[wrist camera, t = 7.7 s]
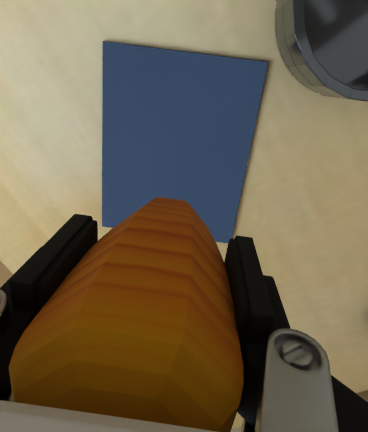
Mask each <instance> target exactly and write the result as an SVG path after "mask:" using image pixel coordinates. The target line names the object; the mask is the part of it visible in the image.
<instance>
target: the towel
mask: <svg viewBox="0 0 368 432" xmlns="http://www.w3.org/2000/svg"><path fill="white" fill-rule="evenodd" d="M267 67H268V62H264V61H256V60H248V59H240V58H232V57H224V56H216V55H208V54H200V53H192V52H185V51H177V50H169V49H161V48H153V47H145V46H137V45H129V44H121V43H113V42H105V41H103V144H102V226H105V227H112V228H114V227H115V226H117V225H118V224H119V223H121V222H122V221H123V220H125V219H126V218H127V217H129V216H130V215H132V214H133V213H134V212H136V211H137V210H139V209H140V208H141V207H143V206H144V205H146V204H147V203H148V202H150V201H151V200H153V199H154V198H159V197H165V198H171V199H178V200H184V201H186V202H188V203H189V204H190V206H191V207H192V208H193V209H194V211H195V212H196V213H197V214H198V216H199V217H200V218H201V220H202V221H203V222H204V223H205V225H206V226H207V227H208V229H209V231H210V233H211V235H212V236H213V238H214V240H215V241H216V242H223V243H229V240H230V239H232V235H233V230H234V226H235V221H236V216H237V211H238V206H239V202H240V197H241V192H242V187H243V182H244V177H245V173H246V168H247V163H248V158H249V153H250V149H251V144H252V139H253V134H254V129H255V124H256V120H257V115H258V110H259V105H260V100H261V95H262V91H263V86H264V81H265V76H266V71H267Z"/></svg>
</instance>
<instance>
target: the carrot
mask: <svg viewBox="0 0 368 432" xmlns="http://www.w3.org/2000/svg"><path fill="white" fill-rule="evenodd" d="M9 374H10V381H11V387H12V394H13V401H14V402H16V403H24V404H31V405H38V406H45V407H52V408H59V409H66V410H73V411H80V412H87V413H94V414H101V415H108V416H115V417H122V418H129V419H135V420H142V421H149V422H156V423H163V424H170V425H176V426H183V427H190V428H196V429H203V430H210V431H217V432H230V431H231V428H232V425H233V422H234V419H235V416H236V413H237V410H238V407H239V404H240V399H241V394H242V389H243V361H242V355H241V349H240V342H239V336H238V333H237V328H236V321H235V313H234V306H233V300H232V295H231V290H230V285H229V281H228V276H227V271H226V266H225V263H224V261H223V259H222V256H221V254H220V251H219V249H218V247H217V244H216V242H215V240H214V238H213V236H212V235H211V233H210V231H209V229H208V227H207V226H206V225H205V223H204V222H203V221H202V220H201V218H200V217H199V216H198V214H197V213H196V212H195V211H194V209H193V208H192V207H191V206H190V204H189V203H188V202H186V201H184V200H178V199H171V198H165V197H159V198H154V199H153V200H151V201H150V202H148V203H147V204H146V205H144V206H143V207H141V208H140V209H139V210H137V211H136V212H134V213H133V214H132V215H130V216H129V217H127V218H126V219H125V220H123V221H122V222H121V223H119V224H118V225H117V226H115V227H114V228H113V229H111V230H110V231H109V232H108V233H107V234H106V235H104V236H103V237H102V238H101V239H100V240H98V241H97V242H96V243H95V244H94V245H93V246H92V247H91V248H90V249H89V251H88V252H87V253H86V254H85V255H84V256H83V258H82V259H81V260H80V261H79V262H78V264H77V265H76V266H75V267H74V268H73V270H72V271H71V272H70V273H69V274H68V275H67V277H66V278H65V279H64V280H63V282H62V283H61V284H60V286H59V287H58V288H57V289H56V291H55V292H54V293H53V295H52V296H51V297H50V299H49V300H48V301H47V302H46V304H45V305H44V306H43V308H42V309H41V310H40V311H39V313H38V314H37V315H36V317H35V318H34V319H33V320H32V322H31V323H30V324H29V326H28V327H27V328H26V330H25V331H24V332H23V334H22V336H21V338H20V339H19V341H18V343H17V345H16V346H15V349H14V352H13V355H12V358H11V361H10V364H9Z"/></svg>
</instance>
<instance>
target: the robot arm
mask: <svg viewBox="0 0 368 432" xmlns="http://www.w3.org/2000/svg"><path fill="white" fill-rule="evenodd" d="M97 241H98V229H97V221H94V220H93V219H92V217H91V216H86V215H79V214H75V215H73V216H72V217H71V218H70V219H69V220H68V221H67V222H66V223H65V224H64V225H63V226H62V227H61V228H60V229H59V230H58V231H57V233H56V234H55V235H54V236H53V237H52V238H51V239H50V240H49V241H48V242H47V243H46V244H45V245H44V246H42V247H41V248H40V249H39V250H38V251H37V252H36V253H35V254H34V255H33V256H32V257H31V258H30V259H29V260H28V261H27V262H26V263H25V264H24V265H23V266H22V267H21V268H20V269H19V270H18V271H17V272H16V273H15V274H14V275H13V276H12V277H11V278H10V279H9V280H8V281H7V282H6V283H5V284H4V285H3V286H2V287H1V288H0V432H217V431H210V430H203V429H196V428H190V427H183V426H176V425H170V424H163V423H156V422H149V421H142V420H135V419H129V418H122V417H115V416H108V415H101V414H94V413H87V412H80V411H73V410H66V409H59V408H52V407H45V406H38V405H31V404H24V403H16V402H14V401H13V394H12V387H11V381H10V374H9V364H10V361H11V358H12V355H13V352H14V349H15V346H16V345H17V343H18V341H19V339H20V338H21V336H22V334H23V332H24V331H25V330H26V328H27V327H28V326H29V324H30V323H31V322H32V320H33V319H34V318H35V317H36V315H37V314H38V313H39V311H40V310H41V309H42V308H43V306H44V305H45V304H46V302H47V301H48V300H49V299H50V297H51V296H52V295H53V293H54V292H55V291H56V289H57V288H58V287H59V286H60V284H61V283H62V282H63V280H64V279H65V278H66V277H67V275H68V274H69V273H70V272H71V271H72V270H73V268H74V267H75V266H76V265H77V264H78V262H79V261H80V260H81V259H82V258H83V256H84V255H85V254H86V253H87V252H88V251H89V249H90V248H91V247H92V246H93V245H94V244H95V243H96V242H97ZM225 266H226V271H227V276H228V281H229V285H230V290H231V295H232V300H233V306H234V313H235V321H236V328H237V333H238V336H239V342H240V349H241V355H242V361H243V389H242V394H241V399H240V404H239V407H238V410H237V412H238V413H239V414H240V415H241V416H242V417H243V418H244V419H243V423H242V430H241V432H368V402H366V401H365V400H364V399H362V398H361V397H360V396H358V395H357V394H356V393H354V392H353V391H352V390H350V389H349V388H348V387H346V386H345V385H344V384H342V383H341V382H340V381H338V380H337V379H336V378H334V377H333V376H332V375H331V373H330V366H329V360H328V357H327V354H326V352H325V350H324V349H323V348H322V346H321V345H320V344H319V343H318V342H317V341H316V340H315V339H313V338H312V337H310V336H309V335H307V334H305V333H303V332H301V331H298V330H294V329H291V328H290V325H289V323H288V320H287V317H286V314H285V311H284V308H283V305H282V302H281V299H280V296H279V293H278V290H277V287H276V284H275V281H274V279H273V277H271V276H265V275H263V273H262V270H261V267H260V263H259V260H258V256H257V253H256V249H255V246H254V242H253V239H252V238H250V237H243V236H236V237H235V239H230V240H229V243H228V248H227V253H226V258H225Z"/></svg>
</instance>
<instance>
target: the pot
mask: <svg viewBox="0 0 368 432" xmlns="http://www.w3.org/2000/svg"><path fill="white" fill-rule="evenodd" d="M275 32H276V39H277V44H278V48H279V51H280V54H281V57H282V59H283V61H284V63H285V65H286V67H287V68H288V70H289V71H290V73H291V74H292V75H293V76H294V77H295V78H296V79H297V80H298V82H300V83H301V84H302V85H303V86H305V87H306V88H308V89H310V90H312V91H314V92H316V93H319V94H320V95H323V96H329V97H337V98H345V99H352V100H360V101H368V0H277V5H276V11H275Z"/></svg>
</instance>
